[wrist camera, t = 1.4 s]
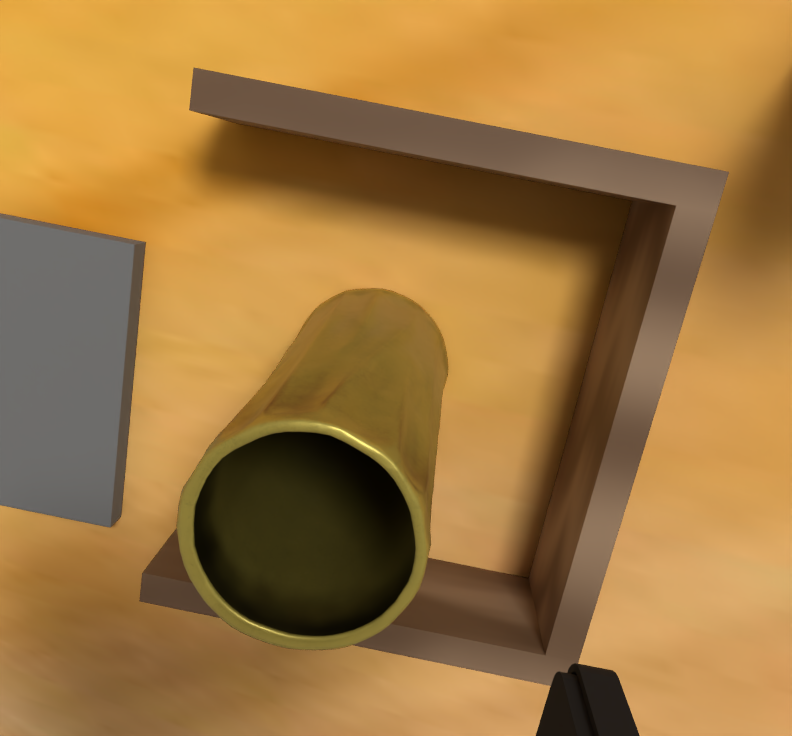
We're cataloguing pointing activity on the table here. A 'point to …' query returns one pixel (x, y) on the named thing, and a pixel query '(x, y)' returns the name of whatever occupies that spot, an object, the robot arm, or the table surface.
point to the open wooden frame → (599, 395)
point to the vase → (324, 480)
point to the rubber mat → (66, 367)
